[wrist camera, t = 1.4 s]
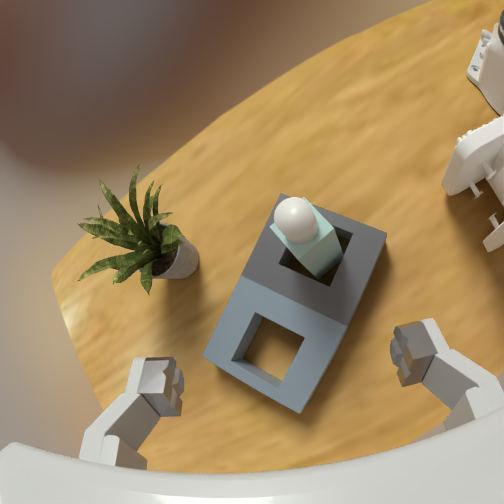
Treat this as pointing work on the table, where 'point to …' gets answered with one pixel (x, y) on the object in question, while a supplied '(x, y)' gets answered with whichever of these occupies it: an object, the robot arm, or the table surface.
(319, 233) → the plug
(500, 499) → the robot arm
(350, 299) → the socket panel
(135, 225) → the house plant
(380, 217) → the table surface
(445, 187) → the cable organizer
